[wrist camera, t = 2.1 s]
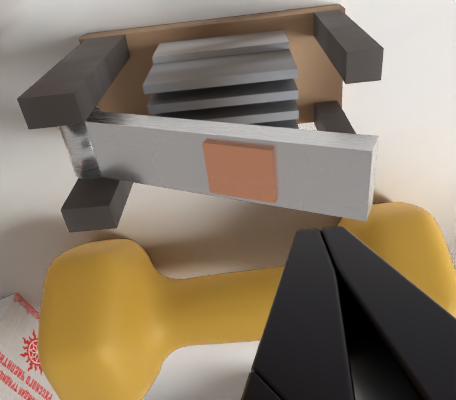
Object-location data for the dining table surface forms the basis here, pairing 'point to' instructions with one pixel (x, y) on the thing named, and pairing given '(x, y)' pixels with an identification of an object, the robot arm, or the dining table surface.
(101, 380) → the dumbbell
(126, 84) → the grey and tan frame
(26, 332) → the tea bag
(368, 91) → the dining table surface
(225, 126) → the grey bar
